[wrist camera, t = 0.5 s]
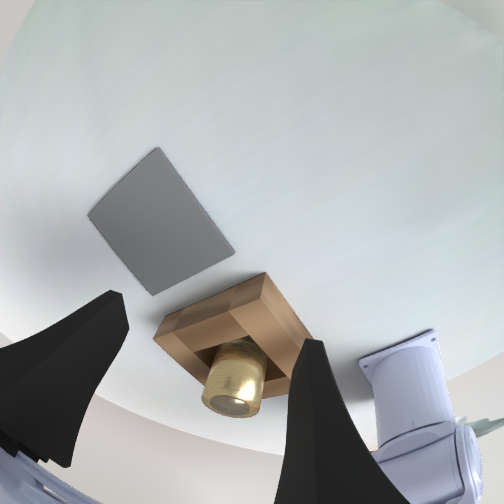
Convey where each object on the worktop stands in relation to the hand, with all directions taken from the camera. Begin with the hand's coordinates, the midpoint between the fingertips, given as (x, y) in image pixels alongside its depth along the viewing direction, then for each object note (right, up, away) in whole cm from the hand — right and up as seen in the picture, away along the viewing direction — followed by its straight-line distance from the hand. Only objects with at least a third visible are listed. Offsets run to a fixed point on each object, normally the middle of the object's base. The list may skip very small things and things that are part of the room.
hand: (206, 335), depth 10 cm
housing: (+1, -5, +14) cm, 15 cm away
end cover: (+1, -5, +15) cm, 15 cm away
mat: (-6, +5, +10) cm, 13 cm away
